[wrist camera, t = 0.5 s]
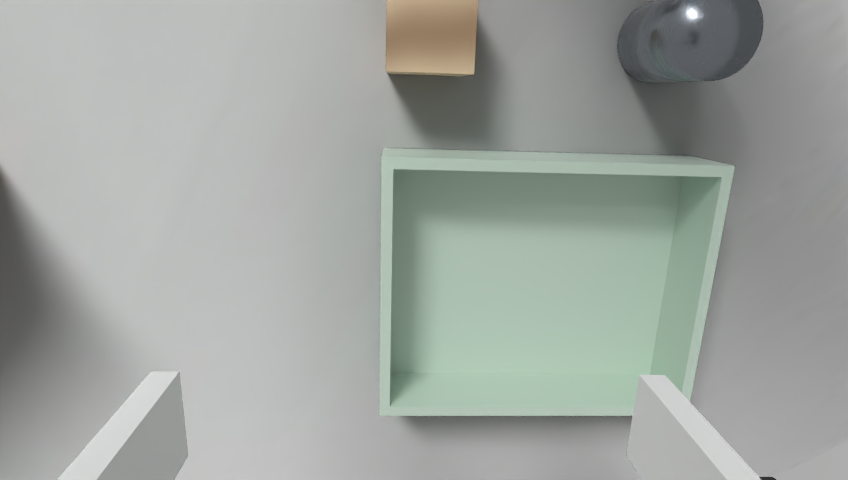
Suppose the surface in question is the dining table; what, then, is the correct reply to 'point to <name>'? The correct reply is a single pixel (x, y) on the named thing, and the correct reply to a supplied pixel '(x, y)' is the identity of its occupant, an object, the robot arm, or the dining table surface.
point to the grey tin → (689, 39)
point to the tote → (542, 278)
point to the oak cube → (431, 37)
